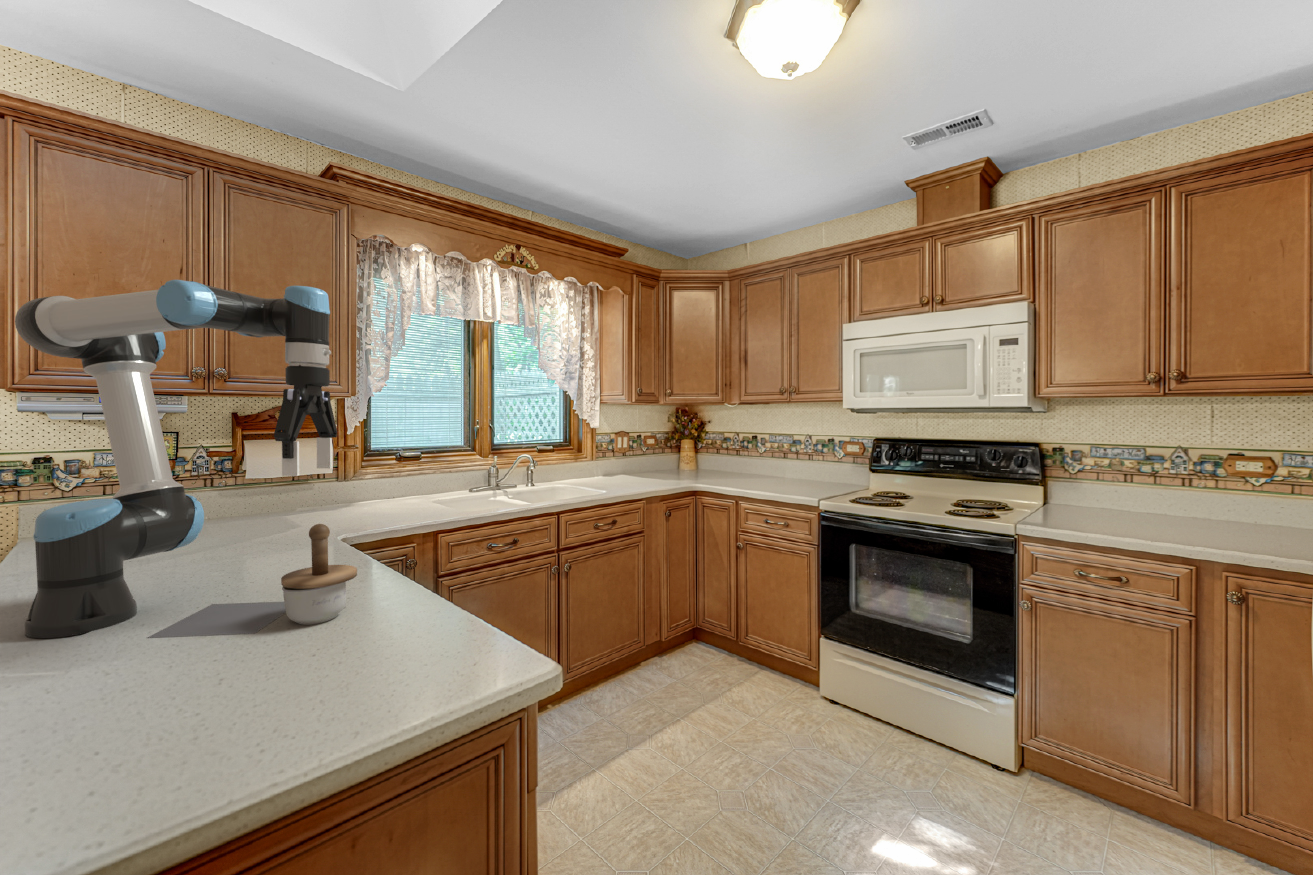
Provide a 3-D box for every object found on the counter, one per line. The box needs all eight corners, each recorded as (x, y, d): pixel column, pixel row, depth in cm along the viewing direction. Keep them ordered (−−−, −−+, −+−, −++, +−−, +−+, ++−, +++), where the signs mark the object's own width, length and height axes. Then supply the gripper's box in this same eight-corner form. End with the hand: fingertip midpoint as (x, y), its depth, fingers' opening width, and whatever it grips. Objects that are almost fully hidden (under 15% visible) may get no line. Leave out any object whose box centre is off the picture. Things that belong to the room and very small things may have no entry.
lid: (267, 589, 105) (265, 531, 104) (301, 570, 117) (299, 518, 117) (341, 587, 106) (340, 529, 106) (366, 568, 119) (365, 517, 119)
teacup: (317, 632, 105) (316, 590, 104) (269, 627, 107) (268, 586, 107) (369, 607, 118) (369, 569, 118) (325, 603, 121) (325, 566, 120)
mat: (146, 640, 101) (146, 637, 101) (212, 605, 119) (212, 603, 119) (254, 635, 103) (254, 633, 103) (303, 602, 121) (303, 600, 121)
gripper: (295, 361, 100) (296, 479, 101) (353, 371, 125) (354, 465, 126) (250, 360, 99) (251, 479, 100) (318, 369, 124) (318, 465, 125)
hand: (308, 471), depth 113 cm, fingers open, 13 cm apart
